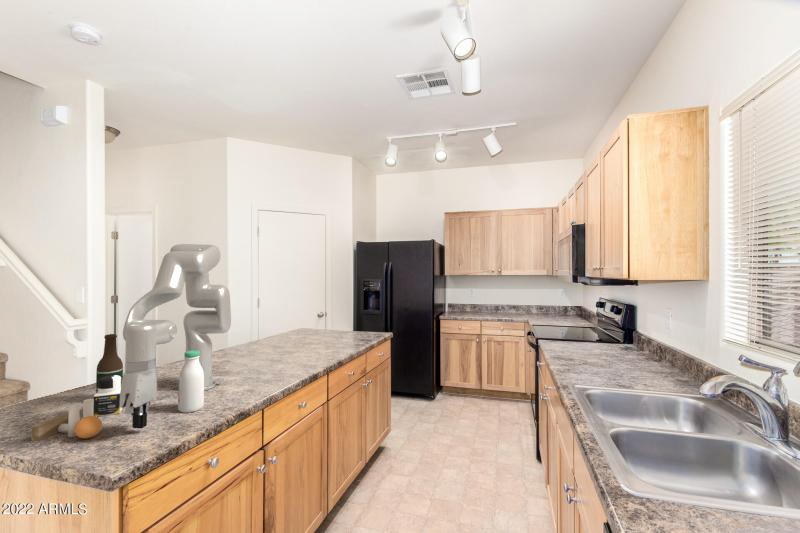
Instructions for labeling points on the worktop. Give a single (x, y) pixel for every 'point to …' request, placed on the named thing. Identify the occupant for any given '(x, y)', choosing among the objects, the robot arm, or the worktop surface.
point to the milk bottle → (191, 384)
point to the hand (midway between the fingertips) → (139, 427)
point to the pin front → (63, 428)
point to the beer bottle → (109, 360)
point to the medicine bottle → (108, 396)
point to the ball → (88, 427)
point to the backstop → (48, 426)
